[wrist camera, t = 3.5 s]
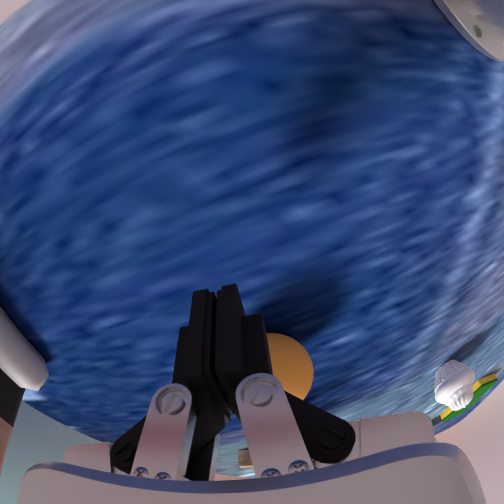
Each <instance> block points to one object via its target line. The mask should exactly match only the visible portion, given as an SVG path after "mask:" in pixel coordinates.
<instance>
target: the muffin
mask: <svg viewBox="0 0 504 504" xmlns="http://www.w3.org/2000/svg"><path fill="white" fill-rule="evenodd" d="M474 379H475V373H474V372H473V370H471V369H469V367H467V366H466V365H464V364H462V363H460V362H458V361H456V360H454V359H453V360H450V361H448V362H446V363H444V364H443V365H442V366H441V367H440V368H439V369H438V370H437V371H436V376H435V392H436V393H435V399H436V401H437V402H439V403H442V404H445V405H446V406H449V407H450V409H451V410H454V411H457V410H460V409H462V408H463V407H464V408H465V407H466V405H468V404H469V403H470V402H471V400H472V398H473V391H472V389H473V383H474Z"/></svg>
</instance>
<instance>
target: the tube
mask: <svg viewBox="0 0 504 504" xmlns="http://www.w3.org/2000/svg"><path fill="white" fill-rule="evenodd" d="M0 368H1V369H2V370H3V371H4V372H5V373H6V374H7V375H8V376H9V377H10V378H11V379H12V380H13V381H14V382H15V383H16V384H17V385H18V386H20V387H21V388H27V389H31V390H34V391H38V390H39V389H40V387H41V386H42V385H43V384H44V382H45V381H46V379H47V378H48V377H49V374H48V370H47V367H46V363H45V359H44V358H43V357H42V356H41V355H40V354H39V353H38V352H37V351H36V349H35V348H34V347H33V346H32V345H31V344H30V343H29V342H28V340H27V339H26V338H25V337H24V336H23V335H22V333H21V332H20V331H19V330H18V329H17V327H16V326H15V325H14V324H13V322H12V321H11V320H10V318H9V317H8V316H7V315H6V313H5V312H4V310H3V309H2V308H1V306H0Z"/></svg>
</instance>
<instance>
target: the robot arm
mask: <svg viewBox="0 0 504 504" xmlns="http://www.w3.org/2000/svg"><path fill="white" fill-rule="evenodd" d="M434 1H435V3H436V4H437V6H438V7H439V9H440V10H441V11H442V12H443V13H444V15H445V16H446V17H447V19H448V20H449V21H450V22H451V24H452V25H453V26H454V27H455V28H456V29H457V30H458V31H459V32H460V34H461V35H462V36H463V37H464V38H465V39H466V40H467V41H468V42H469V43H471V44H472V45H473V46H474V47H475V48H476V49H477V50H479V51H480V52H481V53H483V54H484V55H485V56H487V57H489V58H491V59H493V60H495V61H498V62H503V63H504V0H434ZM233 414H235V415H236V416H237V418H238V420H239V421H240V423H241V424H242V426H243V430H244V434H245V437H246V441H247V445H248V449H249V453H250V456H251V460H252V464H253V467H254V471H255V474H256V478H254V479H244V480H227V481H214V478H215V471H216V464H217V458H218V451H219V444H220V431H222V430H223V429H224V428H225V422H231V421H230V415H233ZM63 460H64V461H63V463H59V462H45V463H40V464H37V465H34V466H32V467H30V468H29V469H28V470H27V471H26V473H25V474H24V476H23V479H22V482H21V486H20V490H19V495H18V502H17V504H486V501H485V497H484V494H483V491H482V488H481V485H480V482H479V479H478V477H477V475H476V472H475V470H474V468H473V466H472V464H471V462H470V461H469V459H468V458H467V456H466V455H465V453H464V452H463V451H462V450H461V449H460V448H458V447H457V446H455V445H452V444H448V443H437V442H435V438H434V430H433V424H432V421H431V418H430V417H429V416H428V415H427V414H425V413H423V412H420V411H413V412H407V413H401V414H395V415H388V416H381V417H372V418H363V419H360V421H350V422H346V421H345V420H343V419H341V418H339V417H336V416H334V415H332V414H330V413H328V412H326V411H324V410H322V409H320V408H318V407H316V406H314V405H312V404H310V403H308V402H306V401H304V400H302V399H300V398H298V397H296V396H294V395H292V394H290V393H288V392H287V391H285V390H284V389H283V386H282V384H281V382H280V381H279V379H277V378H276V377H275V376H273V370H272V364H271V358H270V351H269V345H268V339H267V334H266V329H265V325H264V321H263V317H262V313H260V314H255V315H249V316H246V315H245V312H244V308H243V305H242V302H241V298H240V295H239V291H238V288H237V285H236V284H231V285H226V286H222V288H221V290H219V291H217V299H216V296H215V293H214V292H209V290H208V289H205V290H199V291H194V292H193V297H192V304H191V312H190V319H189V326H184V327H181V328H180V331H179V337H178V344H177V351H176V358H175V365H174V373H173V381H172V384H168V385H165V386H163V387H161V388H160V389H158V391H157V392H156V393H155V394H154V396H153V398H152V401H151V404H150V407H149V410H148V414H147V416H146V417H144V418H143V419H142V420H141V421H140V422H138V423H137V424H136V425H135V426H133V427H132V428H131V429H130V430H129V431H127V432H126V433H125V434H124V435H122V436H121V437H120V438H119V439H117V440H116V441H115V442H114V443H112V444H111V443H110V442H103V443H94V444H84V445H73V446H70V447H69V448H68V449H67V450H66V451H65V453H64V458H63Z"/></svg>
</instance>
